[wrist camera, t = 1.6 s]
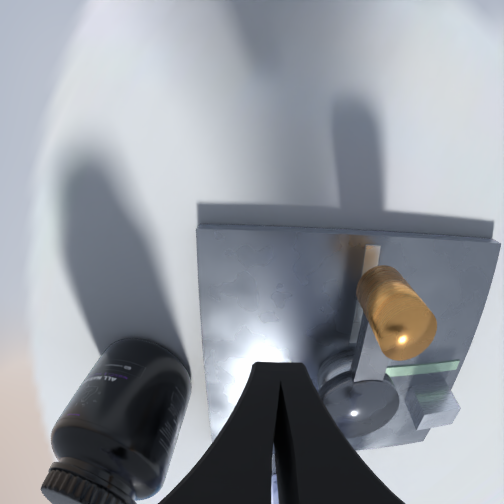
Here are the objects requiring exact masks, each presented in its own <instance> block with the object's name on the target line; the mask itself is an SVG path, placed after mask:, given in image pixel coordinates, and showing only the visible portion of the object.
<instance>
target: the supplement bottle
mask: <svg viewBox="0 0 504 504" xmlns="http://www.w3.org/2000/svg"><path fill="white" fill-rule="evenodd" d="M191 389H192V386H191V380H190V377H189V374H188V372H187V370H186V368H185V367H184V365H183V364H182V363H181V362H180V361H179V359H178V358H177V357H176V356H174V355H173V354H172V353H171V352H169V351H168V350H167V349H165V348H163V347H161V346H159V345H157V344H155V343H153V342H150V341H146V340H142V339H123V340H119V341H117V342H115V343H113V344H111V345H110V346H109V347H108V348H107V349H106V350H105V351H104V353H103V354H102V356H101V357H100V358H99V360H98V361H97V362H96V364H95V365H94V367H93V368H92V370H91V371H90V373H89V374H88V375H87V377H86V378H85V380H84V381H83V383H82V384H81V386H80V387H79V389H78V390H77V392H76V393H75V395H74V396H73V398H72V399H71V401H70V402H69V404H68V405H67V407H66V408H65V410H64V411H63V413H62V414H61V416H60V417H59V419H58V420H57V422H56V424H55V426H54V427H53V429H52V433H51V445H52V449H53V452H54V454H55V456H56V458H57V459H58V461H59V462H54V463H52V465H51V467H50V469H49V473H48V475H47V477H46V479H45V480H44V482H43V484H42V487H41V491H42V493H43V494H44V496H45V497H46V498H47V499H48V500H49V501H50V502H51V503H52V504H136V502H135V501H137V500H144V499H147V498H150V497H152V496H154V495H155V494H156V493H158V492H159V491H160V489H161V488H162V486H163V484H164V481H165V478H166V475H167V471H168V468H169V465H170V461H171V458H172V455H173V452H174V448H175V445H176V442H177V438H178V435H179V432H180V429H181V425H182V422H183V419H184V416H185V413H186V409H187V406H188V402H189V399H190V395H191Z"/></svg>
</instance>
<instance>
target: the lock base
mask: <svg viewBox="0 0 504 504" xmlns="http://www.w3.org/2000/svg"><path fill="white" fill-rule="evenodd" d="M196 238H197V263H198V283H199V300H200V316H201V330H202V344H203V356H204V368H205V379H206V389H207V400H208V409H209V418H210V427H211V436H212V443H213V441H214V440H215V438H216V437H217V435H218V434H219V432H220V431H221V429H222V428H223V426H224V425H225V423H226V422H227V420H228V418H229V417H230V415H231V413H232V411H233V409H234V407H235V406H236V404H237V402H238V400H239V398H240V396H241V394H242V392H243V390H244V387H245V385H246V383H247V380H248V378H249V375H250V372H251V367H252V364H253V363H255V362H256V361H262V362H302V363H303V364H304V365H305V366H306V369H307V371H308V373H309V376H310V378H311V380H312V382H313V384H314V386H315V388H316V390H317V392H318V391H319V389H320V388H321V387H322V386H323V385H324V384H325V383H326V382H327V381H329V380H330V379H331V378H333V377H335V376H336V375H338V374H340V373H343V372H345V371H348V370H350V368H351V364H352V360H353V356H354V351H355V347H356V343H357V338H358V334H359V329H360V324H361V319H362V314H363V310H362V307H361V305H360V303H359V301H358V299H357V295H356V288H357V285H358V282H359V280H360V278H361V277H362V276H363V275H364V273H366V272H367V271H368V270H370V269H371V268H373V267H376V266H380V265H387V266H391V267H393V268H395V269H396V270H397V271H398V272H399V273H400V274H401V275H402V276H403V278H404V279H405V280H406V281H407V282H408V284H409V285H410V286H411V287H412V288H413V290H414V291H415V292H416V293H417V294H418V296H419V297H420V298H421V299H422V301H423V302H424V303H425V304H426V306H427V307H428V308H429V309H430V311H431V312H432V313H433V314H434V316H435V318H436V321H437V331H436V334H435V337H434V339H433V341H432V342H431V344H430V345H429V346H428V347H427V348H426V349H425V350H424V351H423V352H422V353H420V354H419V355H417V356H416V357H413V358H411V359H408V360H402V361H397V360H392V359H389V362H388V366H387V369H386V372H385V373H387V374H388V375H389V376H390V377H391V379H392V381H393V383H394V385H395V388H396V390H397V393H398V395H399V399H400V403H399V407H398V410H397V412H396V414H395V415H394V416H393V418H392V419H391V420H390V421H389V422H388V423H387V424H385V425H384V426H383V427H381V428H380V429H378V430H376V431H374V432H372V433H370V434H367V435H364V436H360V437H355V438H346V439H347V440H348V442H349V443H350V444H351V446H352V447H353V448H354V450H365V449H374V448H382V447H390V446H397V445H403V444H409V443H415V442H421V441H423V440H424V439H425V437H426V435H427V434H428V432H429V430H430V428H433V427H438V426H443V425H448V424H452V423H453V421H454V419H455V418H456V416H457V414H458V412H459V411H460V409H461V408H460V406H459V404H458V402H457V400H456V399H455V397H454V395H453V393H452V392H451V388H452V386H453V384H454V382H455V380H456V378H457V376H458V373H459V371H460V369H461V367H462V364H463V362H464V360H465V357H466V355H467V352H468V350H469V347H470V345H471V342H472V340H473V337H474V335H475V332H476V329H477V326H478V324H479V321H480V318H481V315H482V312H483V309H484V306H485V303H486V300H487V296H488V293H489V290H490V286H491V283H492V279H493V275H494V272H495V268H496V264H497V260H498V256H499V251H500V247H501V243H499V242H497V241H496V240H494V239H490V238H478V237H465V236H452V235H438V234H423V233H407V232H391V231H374V230H355V229H335V228H313V227H289V226H261V225H228V224H200V225H199V226H198V227H197V229H196ZM272 453H275V451H274V445H273V452H272Z"/></svg>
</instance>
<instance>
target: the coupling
mask: <svg viewBox="0 0 504 504" xmlns="http://www.w3.org/2000/svg"><path fill="white" fill-rule="evenodd" d="M356 295H357V299H358V301H359V303H360V305H361V307H362V310H363V314H362V319H361V324H360V329H359V334H358V338H357V343H356V347H355V351H354V356H353V360H352V364H351V368H350V370H348V371H345V372H343V373H340V374H338V375H336V376H335V377H333V378H331V379H330V380H329V381H327V382H326V383H325V384H324V385H323V386H322V387H321V388H320V389H319V391H318V394H319V396H320V398H321V399H322V401H323V403H324V405H325V406H326V408H327V410H328V411H329V413H330V415H331V416H332V418H333V419H334V421H335V423H336V424H337V426H338V427H339V429H340V430H341V432H342V433H343V435H344V436H345V437H346V438H355V437H360V436H364V435H367V434H370V433H372V432H374V431H376V430H378V429H380V428H381V427H383V426H384V425H385V424H387V423H388V422H389V421H390V420H391V419H392V418H393V416H394V415H395V414H396V412H397V410H398V407H399V403H400V399H399V395H398V393H397V390H396V388H395V385H394V383H393V381H392V379H391V377H390V376H389V375H388V374H387V373H385V372H386V369H387V366H388V362H389V359H392V360H397V361H402V360H408V359H411V358H413V357H416V356H417V355H419V354H420V353H422V352H423V351H424V350H425V349H426V348H427V347H428V346H429V345H430V344H431V342H432V341H433V339H434V337H435V334H436V331H437V321H436V318H435V316H434V314H433V313H432V312H431V311H430V309H429V308H428V307H427V306H426V304H425V303H424V302H423V301H422V299H421V298H420V297H419V296H418V294H417V293H416V292H415V291H414V290H413V288H412V287H411V286H410V285H409V284H408V282H407V281H406V280H405V279H404V278H403V276H402V275H401V274H400V273H399V272H398V271H397V270H396V269H395V268H393V267H391V266H387V265H380V266H376V267H373V268H371V269H370V270H368V271H367V272H366V273H364V275H363V276H362V277H361V278H360V280H359V282H358V285H357V288H356Z"/></svg>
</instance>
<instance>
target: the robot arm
mask: <svg viewBox="0 0 504 504" xmlns="http://www.w3.org/2000/svg"><path fill="white" fill-rule="evenodd" d="M273 445H274V451H275V463H276V474H275V475H273V476H272V452H273ZM158 504H405V503H404V502H403V501H402V500H401V499H399V498H398V497H397V496H396V495H395V494H394V493H393V492H392V491H391V490H390V489H389V488H388V487H387V486H386V485H385V484H384V483H383V482H382V481H381V480H380V479H379V478H378V477H377V476H376V475H375V474H374V473H373V471H372V470H371V469H370V468H369V467H368V466H367V465H366V464H365V462H364V461H363V460H362V459H361V457H360V456H359V455H358V454H357V452H356V451H355V450H354V448H353V447H352V446H351V444H350V443H349V442H348V440H347V439H346V437H345V436H344V435H343V433H342V432H341V430H340V429H339V427H338V426H337V424H336V423H335V421H334V419H333V418H332V416H331V415H330V413H329V411H328V410H327V408H326V406H325V405H324V403H323V401H322V399H321V398H320V396H319V394H318V392H317V390H316V388H315V386H314V384H313V382H312V380H311V378H310V376H309V373H308V371H307V369H306V366H305V365H304V364H303V363H302V362H262V361H256V362H255V363H253V364H252V367H251V372H250V375H249V378H248V380H247V383H246V385H245V387H244V390H243V392H242V394H241V396H240V398H239V400H238V402H237V404H236V406H235V407H234V409H233V411H232V413H231V415H230V417H229V418H228V420H227V422H226V423H225V425H224V426H223V428H222V429H221V431H220V432H219V434H218V435H217V437H216V438H215V440H214V441H213V443H212V444H211V446H210V447H209V448H208V450H207V451H206V452H205V454H204V455H203V456H202V457H201V459H200V460H199V461H198V462H197V464H196V465H195V466H194V467H193V468H192V469H191V471H190V472H189V473H188V474H187V475H186V476H185V477H184V478H183V479H182V480H181V482H180V483H179V484H178V485H177V486H176V487H175V488H174V489H173V490H172V491H171V492H170V493H169V494H168V495H167V496H166V497H165V498H164V499H163V500H161V501H160V502H159V503H158Z"/></svg>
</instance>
